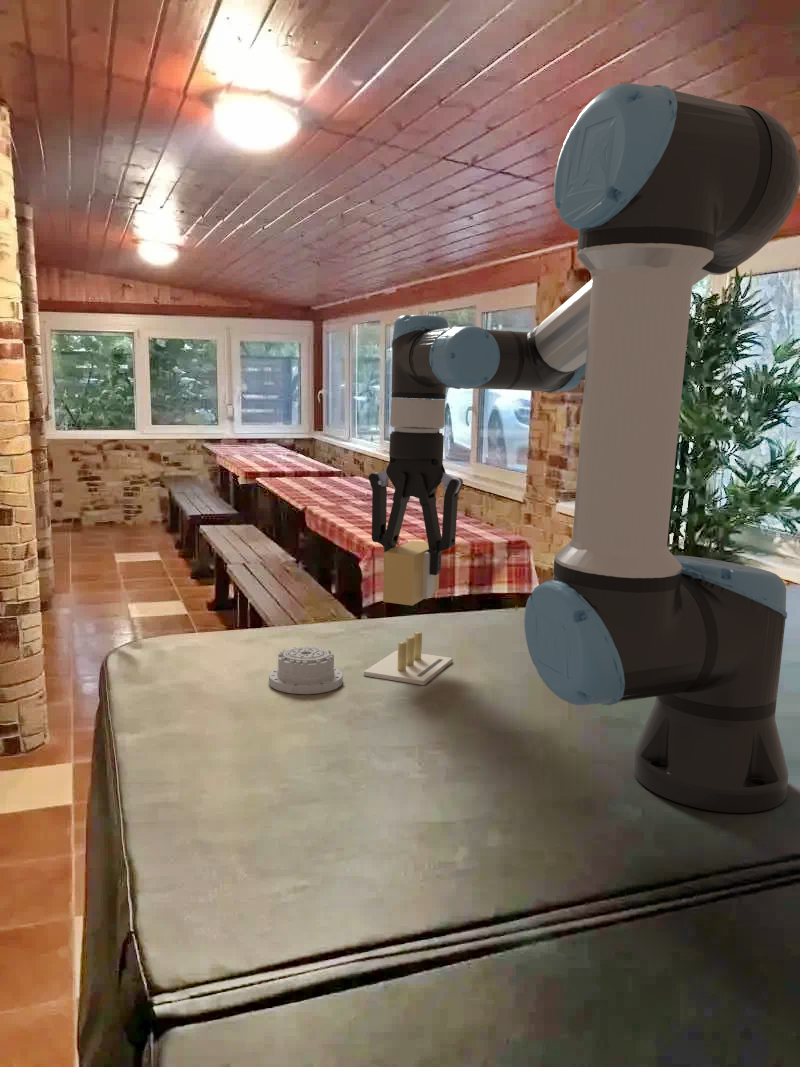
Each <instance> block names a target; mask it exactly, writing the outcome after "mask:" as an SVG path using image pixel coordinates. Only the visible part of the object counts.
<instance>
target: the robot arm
mask: <svg viewBox="0 0 800 1067" xmlns="http://www.w3.org/2000/svg"><path fill="white" fill-rule="evenodd" d="M553 180H554V181H553V200H554V205H555V208H556V209H558V213H557V214H558V216H559V217H560V218H561V220H562V221H563V222H564V224H565V225H567V226H569V228H571V229H573V230H574V231H578V234H577V246H576V248H577V249H576V258H577V259H578V260H579V261H580V262H581V264H582V265H583V266H584V267H585V269H586V270H587V271H588V272H589V273H590V276H591V277H592V278H591V279H590V280H589V281H588V282H586V283H585V284H584V285H583V286H582V287H581V288H580V289H578V290H577V291H576V292H575V293H574V294H573V295H572V296H570V297H569V298H568V299H567V300H566V301H565V302H563V304H561V305H560V306H559V307H558V308H556V310H554V311H553V312H552V313H550V314H549V315H548V317H547V316H546V318H545V319H544V320H543V321H541V322H540V323H539V324H538V325H536V326H535V327H534V328H533V329H532V330H530V331H514V330H513V331H512V330H496V329H485V328H483V327H480V326H476V325H462V324H459V325H454V326H452V327H449V323H448V320H447V319H446V318H445V317H443V316H439V315H433V314H431V315H429V314H410V315H408V314H406V315H400V316H398V317H397V318H396V319H395V321H394V324H393V325H394V326H393V334H392V340H391V349H392V350H391V352H392V354H391V355H392V358H391V401H390V420H389V421H390V422H389V425H390V427H391V428H394V430H391V432H390V433H389V453H388V454H389V462H388V465H387V466H386V469H385V470H382V471H379V472H371V473H370V474H369V475H368V481H369V483H370V487H371V491H372V493H371V495H372V498H371V499H372V500H371V541H372V543H373V542H374V543H377V544H380V545H381V546H382V547H383V553H384V552H386V551H389V550H391V549H393V548H396V547H398V546H399V543H400V542H399V537H400V533H401V529H402V525H403V521H404V518H405V513H406V510H407V506H408V502H409V501H410V499H411V497H413V498H414V497H415V498H416V499H418V501H419V504H420V506H421V510H422V511H421V512H422V517H423V523H424V527H425V534H426V540H427V542H428V546H429V550H427V552H424V559H423V586H422V598H424V599H425V600H428V599H429V598H431V597H432V596H434V594H435V593H434V575H437V574H439V575H440V573H441V571H442V553H443V551H446V550H447V551H448V550H449V549H451V548H453V547H455V544H456V538H457V534H456V533H457V519H458V517H457V516H458V504H459V501H458V499H459V494H460V491H461V489H462V486H463V485H464V480H463V479H462V478H461V477H458V478H456V477H453V475H449V474H447V472H446V469H445V467H444V465H443V460H444V447H445V446H444V442H445V441H444V440H445V435H443V432H440V431H441V429H444V427H445V416H446V415H445V414H446V397H447V396H446V388H447V389H456V390H460V389H463V390H464V389H465V390H469V389H472V390H473V389H479V390H506V391H507V390H510V391H511V390H512V391H526V392H527V391H530V392H542V393H556V392H568V391H573V389H576V387H578V386H579V385H580V384H581V382H582V378H583V377H584V384H583V397H582V407H581V408H582V410H581V420H580V424H581V425H580V435H579V436H580V437H579V448H578V461H577V474H576V487H575V502H574V512H573V513H574V514H573V515H574V516H573V527H572V538H571V539H570V541H569V542H568V543H567V544H565V546H563V547H562V548H561V549H559V551H557V552H556V553H555V555H554V558H553V559H554V561H553V570H552V572H553V573H552V574H553V575H552V579H551V580H550V579H549V580H546V581H544V582H543V583H541V584H539V585H537V586H536V587H534V589H533V590H532V591H531V595H529V597H528V598H527V600H526V604H525V608H524V619H523V622H524V625H523V626H524V636H525V641H526V642H525V643H526V645H527V650H528V653H529V655H530V659H531V661H532V664H533V665H534V666H535V668H536V671H537V673H538V675H539V677H540V678H541V680H542V682H543V683H544V684H545V686H546V687H547V688H548V690H550V691H551V692H552V693H553V694H554V695H555V696H556V697H558V698H559V699H560V700H562V701H564V702H565V703H568V704H571V705H576V706H590V705H591V706H592V705H602V706H612V705H616V704H618V703H621V702H628V701H634V700H640V699H642V700H643V699H647V698H654V697H655V698H654V699H655V700H654V702H653V705H652V708H651V710H650V712H649V714H648V717H647V719H646V722H645V723H644V726H643V728H642V730H641V732H640V735H639V738H638V739H637V742H636V744H635V747H634V750H633V762H632V772H633V775H634V777H635V779H636V780H637V781H638V782H639V783H640V784H641V785H642V786H644V787H645V788H646V789H648V790H649V791H651V792H652V793H655V794H657V795H658V796H661V797H663V798H665V799H667V800H669V801H672V802H675V803H678V804H680V805H685V806H688V807H692V808H694V809H695V808H696V809H701V810H706V811H712V812H720V813H733V814H746V813H747V814H748V813H758V812H763V811H768V810H771V809H774V808H776V807H778V806H780V805H781V804H783V802H784V801H785V800H786V798H787V796H788V795H787V794H788V785H789V770H788V765H787V762H786V758H785V755H784V749H783V746H782V742H781V738H780V734H779V729H778V726H777V722H776V709H777V701H778V693H779V692H778V691H779V682H780V681H779V680H780V675H781V674H780V672H781V665H782V664H781V663H782V654H783V644H784V636H785V628H786V627H785V626H786V619H787V618H788V613H787V611H786V609H787V608H786V607H787V587H786V586H787V585H786V583H785V582H784V580H783V578H781V577H780V575H778V574H777V573H775V572H773V571H769V570H766V569H761V568H759V567H755V566H754V567H753V566H750V565H745V564H741V563H736V562H735V563H734V562H728V561H725V560H724V561H723V560H719V559H713V558H707V557H706V558H705V557H697V556H692V555H690V556H688V555H677V554H676V555H674V554H673V553H672V552H671V551H670V550H669V547H668V539H669V528H670V517H671V509H672V508H671V506H672V498H673V488H674V476H675V467H676V456H677V446H678V437H679V436H678V434H679V425H680V415H681V414H680V413H681V405H682V393H683V385H684V384H683V382H684V374H685V364H686V355H687V354H686V352H687V345H688V344H687V343H688V342H687V341H688V333H689V321H690V314H691V313H690V312H691V311H690V310H691V303H692V302H691V301H692V290H693V286H695V285H697V283H699V282H701V280H703V279H704V278H706V277H708V276H709V275H713V276H722V275H725V274H727V273H730V272H732V271H734V270H735V269H736V268H737V267H739V266H740V265H742V264H743V263H745V262H746V261H748V260H749V259H751V258H752V257H753V256H755V255H756V254H757V253H758V252H760V250H761V249H763V248H764V247H765V246H766V245H767V244H768V243H769V242H770V241H771V240H772V239H774V236H776V234H777V233H778V232H779V231H780V230H781V228H782V227H783V225H784V224H785V223H786V221H787V220H788V217H789V216H790V214H791V212H792V210H793V208H794V206H795V203H796V201H797V198H798V194H799V189H800V155H799V151H798V148H797V145H796V143H795V141H794V139H793V137H792V136H791V134H790V133H789V131H788V130H787V128H786V127H785V126H784V124H783V123H781V122H780V121H779V120H778V119H777V118H776V117H774V116H773V115H771V114H770V113H768V112H766V111H764V110H761V109H760V108H759V109H758V108H756V107H752V106H747V105H742V104H739V105H738V104H734V103H729V102H726V101H721V100H715V99H712V98H708V97H704V96H703V97H702V96H699V95H695V94H690V93H687V92H681V91H677V90H674V89H671V88H670V87H669V86H666V85H661V84H655V85H652V86H651V85H644V84H638V83H629V82H627V83H626V82H625V83H618V84H615V85H613V86H610V87H609V88H606V89H605V90H603V91H601V92H600V93H599V94H598V95H596V96H595V97H594V98H593V99H592V100H591V101H590V102H589V103H587V105H586V106H585V107H584V108H583V109H582V110H581V112H580V113H579V115H578V117H577V118H576V121H575V122H574V124H573V125H572V126H571V127H570V130H569V132H567V135H566V138H565V139H564V142H563V145H562V147H561V150H560V153H559V156H558V160H557V164H556V168H555V172H554V179H553ZM389 481H390V482H391V484H392V485H393V487H394V493H393V496H392V506H391V510H390V513H389V517H388V523H387V510H388V509H387V501H388V500H387V499H388V491H387V490H388V488H387V485H388V483H389ZM441 483H442V484H443V486H442V489H443V491H444V495H443V510H442V527H441V526H440V522H439V515H438V510H437V496H436V489H437V488H438V487H439V486H440V484H441ZM440 527H441V528H440ZM441 529H442V530H441ZM424 599H423V600H424Z"/></svg>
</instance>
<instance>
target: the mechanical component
mask: <svg viewBox="0 0 800 1067" xmlns="http://www.w3.org/2000/svg"><path fill="white" fill-rule="evenodd" d="M331 652H332V650H330V649H328V650H326V649H323V648H322V647H316V646H302V647H301V646H298V647H294V646H293V647H292V648H288V649H283V650H282V651H279V653H278V658H277V659H278V660H277V662H278V663H277V665H278V666H277V667H276V668H274V669H272V670H271V671H270V672H269V673H268V685H269V686H270V687H271V688H272V689H275V690H277V691H279V692H283V693H286V694H294V695H295V694H297V695H298V694H299V695H313V694H314V695H316V694H323V693H326V692H331V691H335V690H336V689H338V688H340V687H341V686H342V684H343V680H344V679H343V676H344V675H343V672H342V671H341V670H340V669H338V668H337V667H335V666H334V665H335V654H334V653H331Z"/></svg>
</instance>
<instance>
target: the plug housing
mask: <svg viewBox="0 0 800 1067" xmlns="http://www.w3.org/2000/svg"><path fill="white" fill-rule="evenodd" d="M397 546H398V547H397ZM397 546H396V548H393V549H391V550H389V551H386V552H384V551H383V581H382V582H383V584H382V585H383V589H382V591H383V592H382V602H384V603H391V604H398V605H405V606H414V605H415V604H418V603H419V602H421V601H423V600H424V598H422V586H423V559H424V552H427V550H429V546H428V541H419V540H411V541H409V542H406V543H403V544H401V545H397ZM439 587H440V573H439V574H437V575H434V594H435V593H436V592H438V591H439Z"/></svg>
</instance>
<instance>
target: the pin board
mask: <svg viewBox="0 0 800 1067" xmlns="http://www.w3.org/2000/svg"><path fill="white" fill-rule="evenodd" d="M405 638H406V639H405V640H406V641H398V643H397V650H395V651H393V652H392V653H390V654H388V655H387V656H385V657H384V658H382V659H380V660H379V661H378V662H376V663H375V664H373V665H371V666H370V667H369V668H367V669H365V670H364V671H363V676H365V677H372V678H378V679H384V680H389V681H395V682H396V681H397V682H403V683H407V684H414V685H415V684H416V685H421V686H425V685H426V684H427V683H428V682H429V681H431V680H432V679H433V678H435V677H436V676H437V675H438V674H440V673H441V672H443V670H445V669H446V668H447V667H448V666H449V665H451V664H452V663H453V660H454V659H453V657H450V656H449V657H447V656H441V655H435V654H434V655H433V654H426V653H422V648H423V632H421V631H415V632H413V636H406V637H405Z"/></svg>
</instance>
